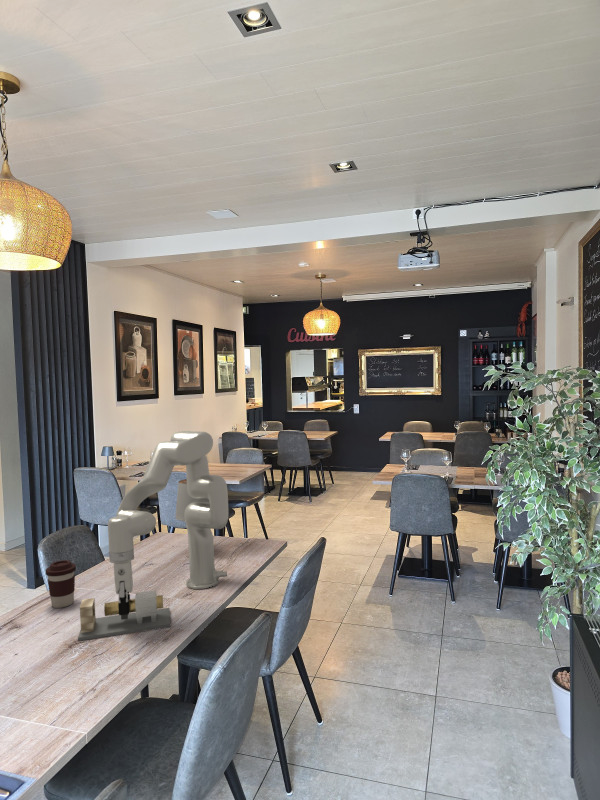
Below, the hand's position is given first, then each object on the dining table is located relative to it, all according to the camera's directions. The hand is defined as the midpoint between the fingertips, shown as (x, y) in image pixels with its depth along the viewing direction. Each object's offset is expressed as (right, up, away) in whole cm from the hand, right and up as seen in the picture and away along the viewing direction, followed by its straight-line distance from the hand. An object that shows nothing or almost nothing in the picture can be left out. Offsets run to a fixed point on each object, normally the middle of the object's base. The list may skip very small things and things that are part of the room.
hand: (124, 610), depth 173 cm
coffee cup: (-29, -6, +19) cm, 35 cm away
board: (0, -5, 0) cm, 5 cm away
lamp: (+11, -2, +69) cm, 70 cm away
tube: (+3, -2, +1) cm, 4 cm away
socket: (-11, -5, -3) cm, 12 cm away
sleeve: (+7, -5, +2) cm, 8 cm away
